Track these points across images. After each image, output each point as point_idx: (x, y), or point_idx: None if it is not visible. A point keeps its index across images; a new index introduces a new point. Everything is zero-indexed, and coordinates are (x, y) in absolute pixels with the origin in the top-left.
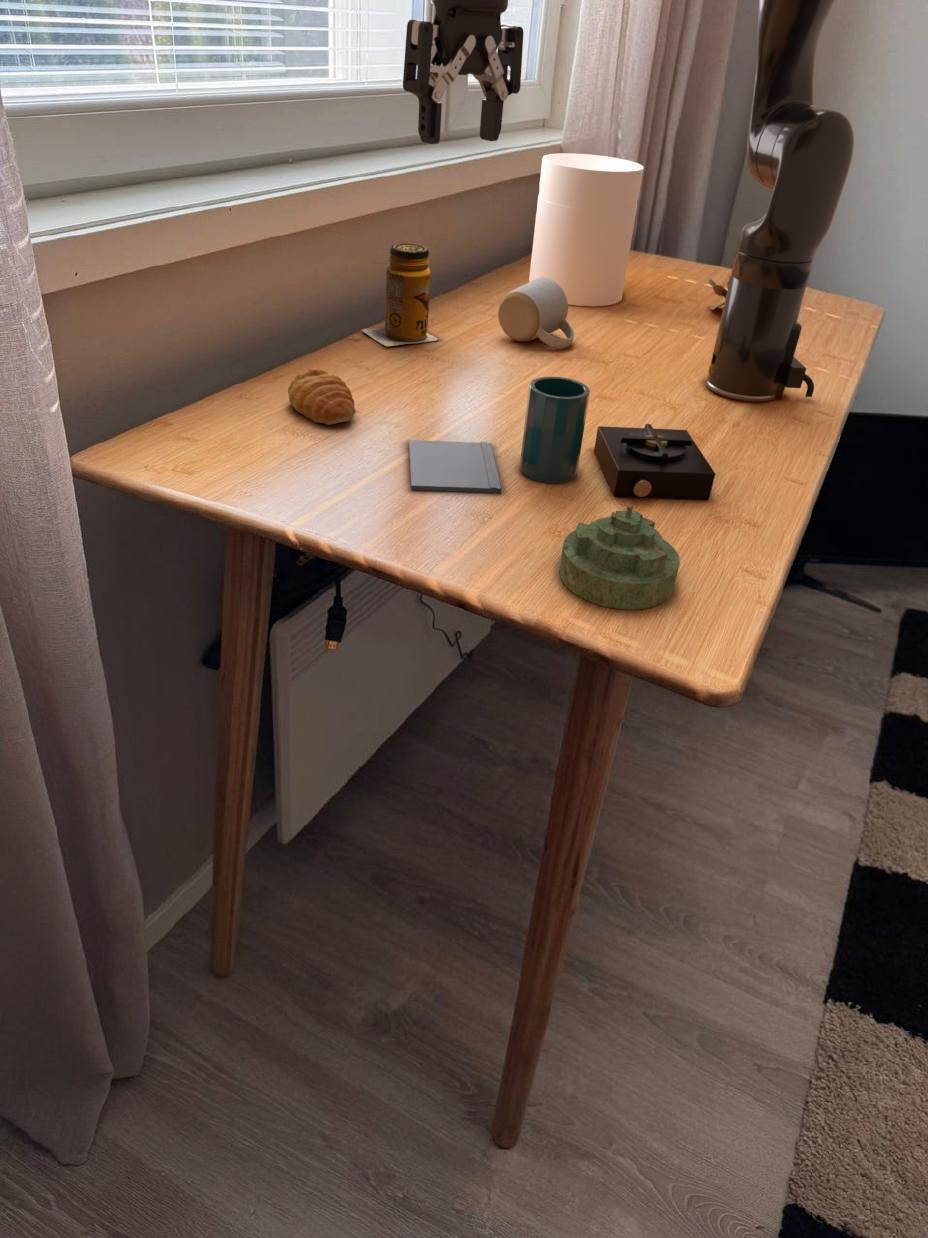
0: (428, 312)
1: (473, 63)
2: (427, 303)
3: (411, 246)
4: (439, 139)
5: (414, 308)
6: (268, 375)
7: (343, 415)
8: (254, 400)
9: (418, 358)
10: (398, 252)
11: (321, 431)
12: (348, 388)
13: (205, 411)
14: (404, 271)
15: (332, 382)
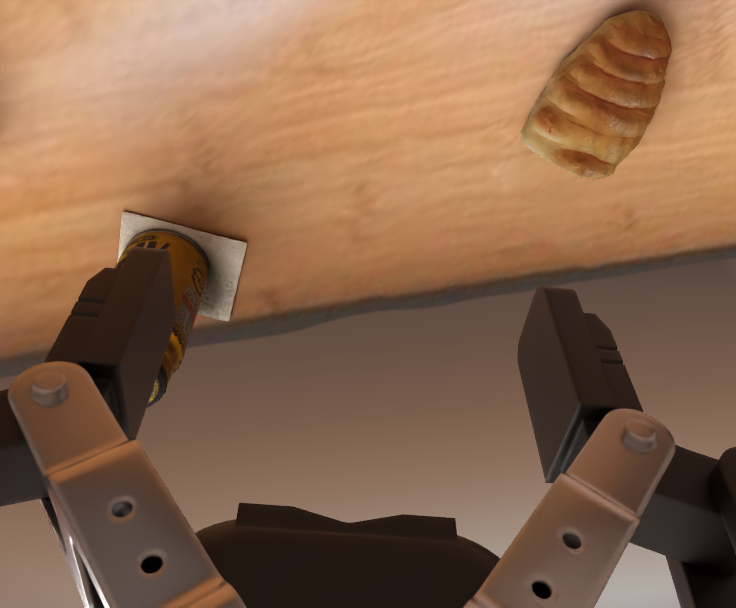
0: (118, 265)
1: (345, 568)
2: None
3: None
4: (549, 288)
5: None
6: (519, 266)
7: (649, 15)
8: (628, 203)
9: (232, 169)
10: (163, 375)
11: (680, 24)
12: (564, 85)
13: (718, 215)
14: None
15: (599, 104)
